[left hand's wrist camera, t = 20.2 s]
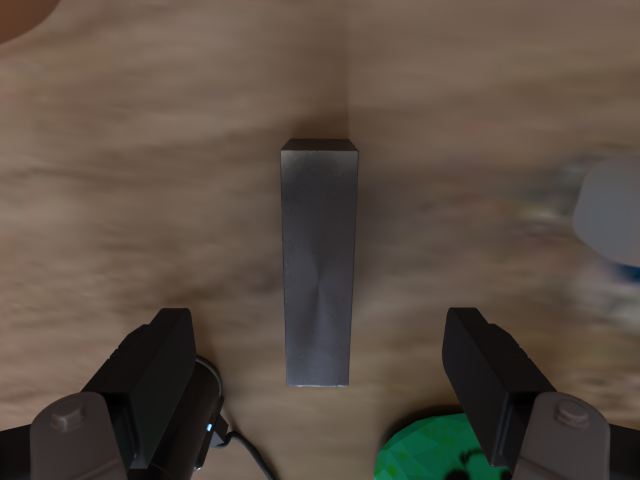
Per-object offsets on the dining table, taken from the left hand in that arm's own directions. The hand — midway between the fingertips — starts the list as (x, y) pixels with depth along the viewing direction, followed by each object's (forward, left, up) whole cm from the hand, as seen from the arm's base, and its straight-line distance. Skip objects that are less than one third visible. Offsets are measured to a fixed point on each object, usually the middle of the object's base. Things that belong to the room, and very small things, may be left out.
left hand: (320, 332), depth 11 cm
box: (-7, +4, -28) cm, 29 cm away
